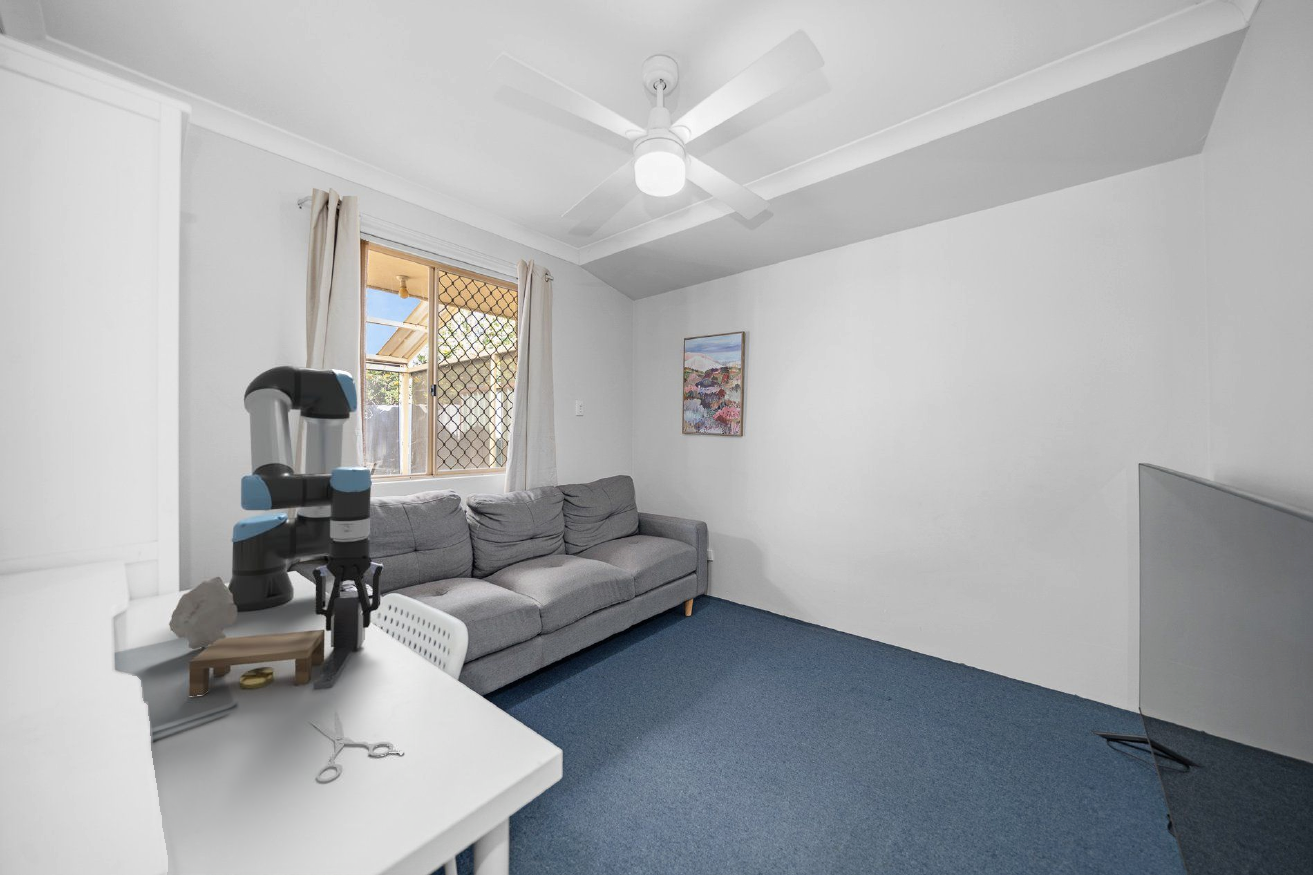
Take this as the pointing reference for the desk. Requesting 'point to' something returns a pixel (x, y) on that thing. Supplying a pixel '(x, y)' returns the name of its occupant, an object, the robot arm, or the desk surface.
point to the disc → (257, 678)
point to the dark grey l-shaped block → (341, 637)
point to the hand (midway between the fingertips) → (348, 643)
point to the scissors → (340, 743)
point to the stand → (257, 655)
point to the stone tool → (204, 613)
